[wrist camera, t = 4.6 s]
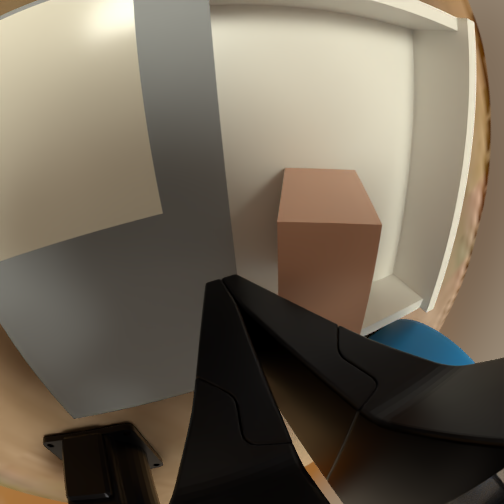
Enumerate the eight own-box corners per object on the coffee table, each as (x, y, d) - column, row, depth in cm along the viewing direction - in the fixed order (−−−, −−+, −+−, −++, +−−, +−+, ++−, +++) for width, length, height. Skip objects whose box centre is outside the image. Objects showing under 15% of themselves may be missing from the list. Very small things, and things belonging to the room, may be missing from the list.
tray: (392, 274, 17) (433, 308, 14) (230, 334, 15) (259, 390, 12) (411, 21, 10) (474, 22, 7) (187, -6, 7) (218, -46, 4)
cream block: (151, 176, 7) (162, 213, 5) (5, 220, 6) (-30, 271, 4) (129, 13, 5) (132, -21, 3) (-29, 69, 4) (-81, 68, 2)
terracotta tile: (285, 266, 13) (345, 268, 13) (278, 343, 10) (357, 345, 9) (284, 168, 11) (355, 169, 10) (277, 221, 7) (382, 224, 7)
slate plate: (230, 334, 15) (249, 373, 13) (73, 376, 12) (73, 418, 10) (187, -6, 7) (206, -32, 5) (-43, 65, 5) (-81, 64, 3)
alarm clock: (387, 374, 25) (486, 491, 13) (329, 413, 24) (421, 543, 12) (382, 273, 17) (569, 455, 5) (291, 333, 16) (462, 567, 4)
